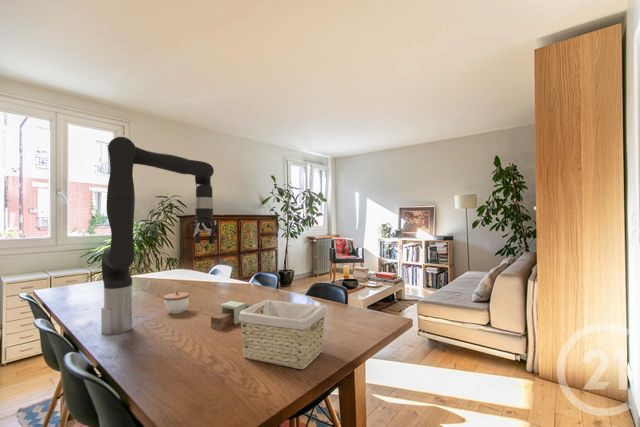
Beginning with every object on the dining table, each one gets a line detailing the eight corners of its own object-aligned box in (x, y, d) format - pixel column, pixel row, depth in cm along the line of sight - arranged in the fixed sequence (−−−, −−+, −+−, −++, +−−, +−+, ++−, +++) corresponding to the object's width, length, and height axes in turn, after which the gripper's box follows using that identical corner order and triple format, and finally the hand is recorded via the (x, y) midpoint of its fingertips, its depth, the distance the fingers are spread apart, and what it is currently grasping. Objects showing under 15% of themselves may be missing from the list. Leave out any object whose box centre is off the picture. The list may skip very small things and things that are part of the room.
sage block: (235, 324, 124) (235, 306, 124) (220, 321, 127) (220, 304, 128) (245, 319, 129) (245, 303, 129) (230, 316, 133) (230, 300, 133)
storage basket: (236, 358, 94) (236, 310, 94) (266, 339, 109) (266, 298, 109) (305, 374, 84) (304, 321, 84) (328, 351, 99) (327, 305, 99)
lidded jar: (182, 315, 136) (182, 294, 136) (159, 315, 136) (159, 294, 137) (193, 308, 147) (193, 288, 147) (171, 308, 147) (171, 288, 147)
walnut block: (219, 330, 118) (219, 318, 118) (211, 328, 120) (211, 317, 120) (241, 321, 129) (241, 310, 129) (233, 319, 131) (233, 309, 131)
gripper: (186, 207, 136) (186, 244, 136) (208, 207, 130) (209, 245, 130) (200, 208, 143) (200, 242, 143) (222, 207, 136) (222, 243, 136)
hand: (204, 243), depth 136 cm, fingers open, 8 cm apart
